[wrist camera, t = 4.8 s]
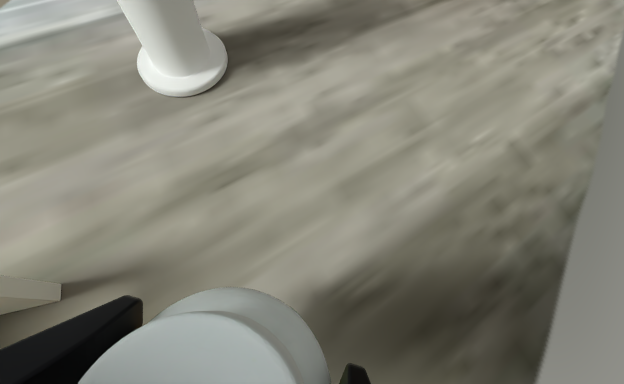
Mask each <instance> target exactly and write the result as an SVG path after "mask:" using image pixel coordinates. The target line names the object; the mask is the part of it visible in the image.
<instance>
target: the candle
mask: <svg viewBox="0 0 624 384" xmlns="http://www.w3.org/2000/svg"><path fill="white" fill-rule="evenodd" d="M117 2H118V4H119V5H120V7H121V9H122V11H123V12H124V14H125V16H126V18H127V19H128V21H129V23H130V25H131V26H132V28H133V30H134V32H135V33H136V35H137V37H138V38H139V40H140V42H141V44H142V45H143V46H142V48H141V50H140V52H139V54H138V58H137V68H138V71H139V74H140V76H141V77H142V79H143V80H144V82H145V83H146V84H147V85H148V86H149V87H150V88H151V89H153V90H154V91H156V92H158V93H161V94H164V95H167V96H174V97H185V96H192V95H196V94H199V93H201V92H204V91H206V90H208V89H209V88H211V87H212V86H214V85H215V84H216V83H217V82H218V81H219V80H220V79H221V78H222V76H223V75H224V73H225V71H226V68H227V63H228V57H227V52H226V49H225V46H224V44H223V43H222V41H221V40H220V39H219V38H218V37H217V36H216V35H215V34H213V33H212V32H210V31H208V30H206V29H203V28H202V26H201V23H200V20H199V17H198V14H197V11H196V8H195V5H194V2H193V0H117Z"/></svg>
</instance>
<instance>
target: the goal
mask: <svg viewBox="0 0 624 384" xmlns="http://www.w3.org/2000/svg"><path fill="white" fill-rule="evenodd" d="M60 300H61V284H60V283H53V282H46V281H39V280H32V279H25V278H18V277H11V276H4V275H0V315H2V314H6V313H11V312H15V311H19V310H23V309H28V308H32V307H36V306H40V305H44V304H49V303H53V302H57V301H60Z"/></svg>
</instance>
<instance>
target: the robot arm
mask: <svg viewBox="0 0 624 384" xmlns="http://www.w3.org/2000/svg"><path fill="white" fill-rule="evenodd" d="M142 323H143V302H142V300H141V299H139V298H136V297H133V296H129V295H126V296H122V297H120V298H118V299H115V300H113V301H111V302H108V303H106V304H104V305H102V306H99V307H97V308H95V309H92V310H90V311H88V312H85V313H83V314H81V315H79V316H76V317H74V318H72V319H69V320H67V321H65V322H63V323H60V324H58V325H56V326H53V327H51V328H49V329H46V330H44V331H42V332H40V333H37V334H35V335H33V336H30V337H28V338H26V339H23V340H21V341H19V342H17V343H14V344H12V345H10V346H7V347H5V348H3V349H0V384H78V382H79V381H80V380H81V378H82V377H83V376H84V375H85V373H86V372H87V371H88V370H89V369H90V368H91V366H92V365H93V364H94V363H95V362H96V361H97V360H98V359H99V358H100V357H101V356H102V355H103V354H104V353H105V352H106V351H107V350H108V349H109V348H111V347H112V346H113V345H115V344H116V343H117V342H118V341H120V340H121V339H122V338H124V337H125V336H127V335H128V334H130V333H131V332H133V331H135V330H136V329H138V328H140V327H142ZM339 384H371V383H370V381H369V378H368V376H367V373H366V371H365V369H364V368H363V367H361V366H358V365H355V364H352V363H348V364H347V365H346V367H345V370H344V373H343V375H342V378H341V380H340V383H339Z"/></svg>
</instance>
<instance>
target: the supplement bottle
mask: <svg viewBox="0 0 624 384" xmlns="http://www.w3.org/2000/svg"><path fill="white" fill-rule="evenodd" d="M78 384H331V379H330V375H329V371H328V367H327V363H326V360H325V357H324V354H323V352H322V349H321V347H320V345H319V343H318V341H317V339H316V337H315V336H314V334H313V332H312V331H311V329H310V328H309V327H308V325H307V324H306V323H305V322H304V320H303V319H302V318H301V316H300V315H299V314H298V313H297V312H296V311H295V310H293V309H292V308H291V307H289V306H288V305H286V304H285V303H283V302H282V301H280V300H279V299H277V298H275V297H273V296H271V295H268V294H266V293H263V292H260V291H257V290H253V289H247V288H238V287H223V288H215V289H210V290H206V291H202V292H198V293H196V294H193V295H190V296H188V297H186V298H184V299H182V300H180V301H178V302H176V303H174V304H172V305H171V306H169V307H168V308H166V309H165V310H163V311H162V312H161V313H159V314H158V315H157V316H156V317H154V318H153V319H152V320H151V321H150V322H149V323H148V324H146V325H144V326H142V327H140V328H138V329H136V330H135V331H133V332H131V333H130V334H128V335H127V336H125V337H124V338H122V339H121V340H120V341H118V342H117V343H116V344H115V345H113V346H112V347H111V348H109V349H108V350H107V351H106V352H105V353H104V354H103V355H102V356H101V357H100V358H99V359H98V360H97V361H96V362H95V363H94V364H93V365H92V366H91V368H90V369H89V370H88V371H87V372H86V373H85V375H84V376H83V377H82V378H81V380H80V381H79V382H78Z"/></svg>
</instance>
